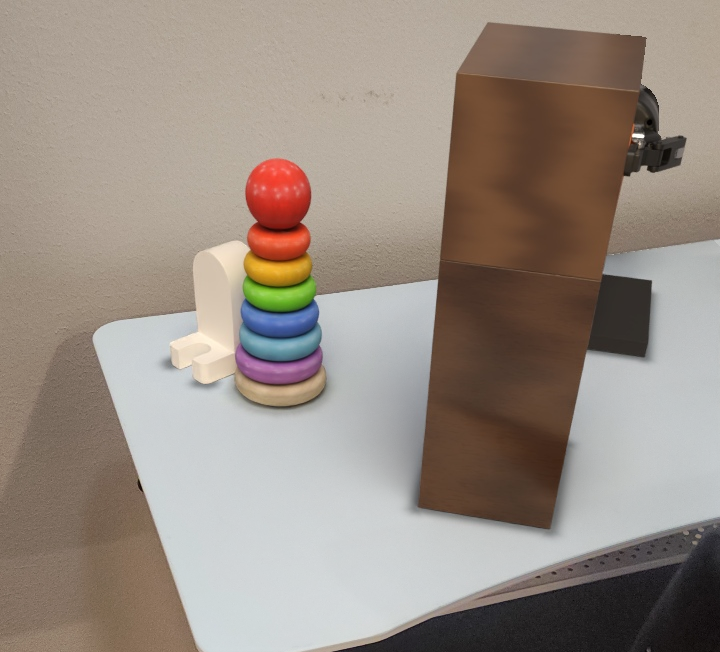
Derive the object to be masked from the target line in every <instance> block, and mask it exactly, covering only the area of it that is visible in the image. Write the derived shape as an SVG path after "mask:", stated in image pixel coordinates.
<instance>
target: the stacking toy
mask: <svg viewBox="0 0 720 652" xmlns="http://www.w3.org/2000/svg"><path fill="white" fill-rule="evenodd" d="M244 195H245V201H246V202H245V203H246V206H247V208H248V211H249V213H250V215H251V216H252V217H253V218H254V220H255V221H256V222H255V223H254V224H252V225H251V226H250V228H249V229H248V231H247V235H246V242H247V246H248V248H249V249H250V251H249V252H248V253H247V254H246V256H245V258H244V270H245V272H246V274H247V276H246V277H245V279H244V282H243V293H244V295H245V297H246V298H245V299H244V301H243V303H242V305H241V317H242V320H243V323H242V324H241V326H240V330H239V338H240V343H239V345H238V346H237V349H236V352H235V360H236V364H237V368H236V370H235V373H234V376H233V377H234V384H235V387H236V388H237V389H238V391H239V392H240V394H241V395H242V396H243V397H245V398H247V399H248V400H250V401H252V402H255V403H257V404H261V405H266V406H274V407H290V406H296V405H301V404H305V403H306V402H310V401H311V400H313V399H314V398H316V397H318V395H320V394H321V393H322V391H323V390H324V388H325V386H326V384H327V372H326V368H325V366H324V365H323V358H324V357H323V356H324V355H323V353H324V352H323V349H322V347H321V345H320V344H321V342H322V337H323V331H322V327H321V325H320V323H319V318H320V308H319V305H318V303H317V301H316V300H315V297H316V294H317V282H316V280H315V278H314V277H313V275H311V274H312V271H313V261H312V257H311V255H310V254H309V252H307V251H308V250H309V248H310V245H311V241H312V236H311V232H310V230H309V228H308V227H307V226H306V224H304V223H302V221H303V220H304V219H305V218H306V216H307V214H308V212H309V209H310V207H311V204H312V187H311V183H310V180H309V178H308V176H307V174H306V173H305V171H304V170H303V169H302V168H301V167H300V166H299V165H297V164H296V163H295V162H293V161H291V160H289V159H286V158H277V157H276V158H269V159H266V160H264V161H261V162H260V163H259V164H257V165H256V166H255V167H254V168H253V169H252V170H251V172H250V173H249V175H248V177H247V179H246V184H245V188H244Z"/></svg>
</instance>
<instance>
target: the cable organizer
mask: <svg viewBox="0 0 720 652" xmlns="http://www.w3.org/2000/svg"><path fill="white" fill-rule="evenodd" d="M250 250H251V249H250V247H249V246H248V245H246V244H245V243H244V242H242V241H240V240H236V239H235V240H231V241H228V242H224V243H222V244H221V243H220V244H218V245H215V246H213V247H209V248H206V249H204V250H200V251H199V252H197V253H196V254H195V256H194V258H193V263H192V277H193V291H194V301H195V313H196V322H197V331H196V332H193V333H191V334H188V335H185V336H182V337H180V338H177V339H175V340H172V341H170V342H169V351H170V359H171V365H172V366H173V367H174V368H177V369H178V370H183V369H185V368H188V367H190V366H191V367H192V368H191V369H192V379H194V380H195V381H197V382H199V383H201V384H202V385H208V384H212V383H215V382H217V381H219V380H221V379H224V378H226V377H229V376H231V375H233V374H234V375H235V370H236V368H237V364H236V360H235V352H236V349H237V346H238V345H239V343H240V338H239V330H240V326H241V324H242V323H243V320H242V317H241V305H242V303H243V301H244V299H245V298H246V297H245V295H244V293H243V282H244V279H245V277H246V276H247V274H246V272H245V270H244V258H245V256H246V254H247V253H248V252H249V251H250Z"/></svg>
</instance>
